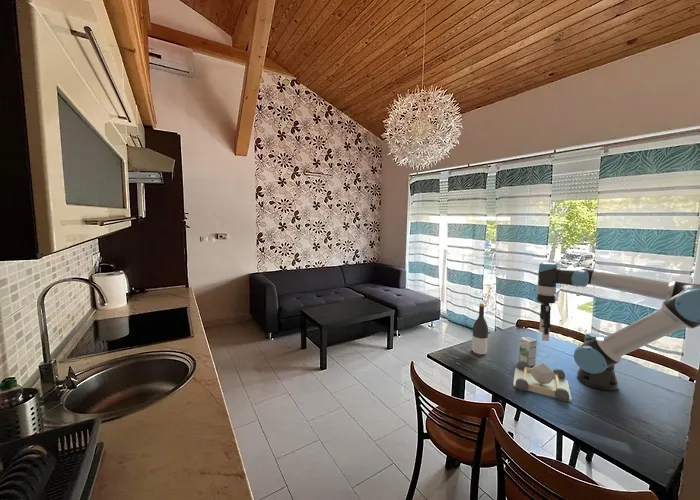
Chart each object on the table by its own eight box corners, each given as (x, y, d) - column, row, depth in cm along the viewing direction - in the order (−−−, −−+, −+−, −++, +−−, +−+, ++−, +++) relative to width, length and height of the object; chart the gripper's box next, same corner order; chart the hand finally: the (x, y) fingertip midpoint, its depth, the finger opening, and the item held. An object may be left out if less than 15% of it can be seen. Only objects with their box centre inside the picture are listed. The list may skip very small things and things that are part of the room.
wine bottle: (468, 352, 176) (471, 302, 173) (478, 350, 179) (481, 301, 177) (479, 357, 168) (482, 306, 166) (489, 355, 172) (492, 304, 169)
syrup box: (535, 366, 160) (537, 339, 158) (527, 367, 157) (529, 341, 156) (525, 361, 165) (527, 336, 164) (518, 363, 163) (519, 337, 161)
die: (556, 390, 135) (558, 368, 134) (534, 387, 136) (536, 366, 135) (547, 380, 143) (549, 360, 142) (527, 378, 145) (529, 358, 144)
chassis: (566, 380, 145) (567, 370, 145) (571, 404, 126) (572, 393, 125) (515, 368, 157) (516, 359, 156) (512, 388, 137) (513, 378, 137)
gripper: (535, 288, 159) (533, 327, 161) (539, 298, 137) (537, 343, 139) (552, 290, 156) (549, 329, 157) (559, 300, 134) (556, 346, 135)
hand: (543, 336), depth 148 cm, fingers open, 13 cm apart
